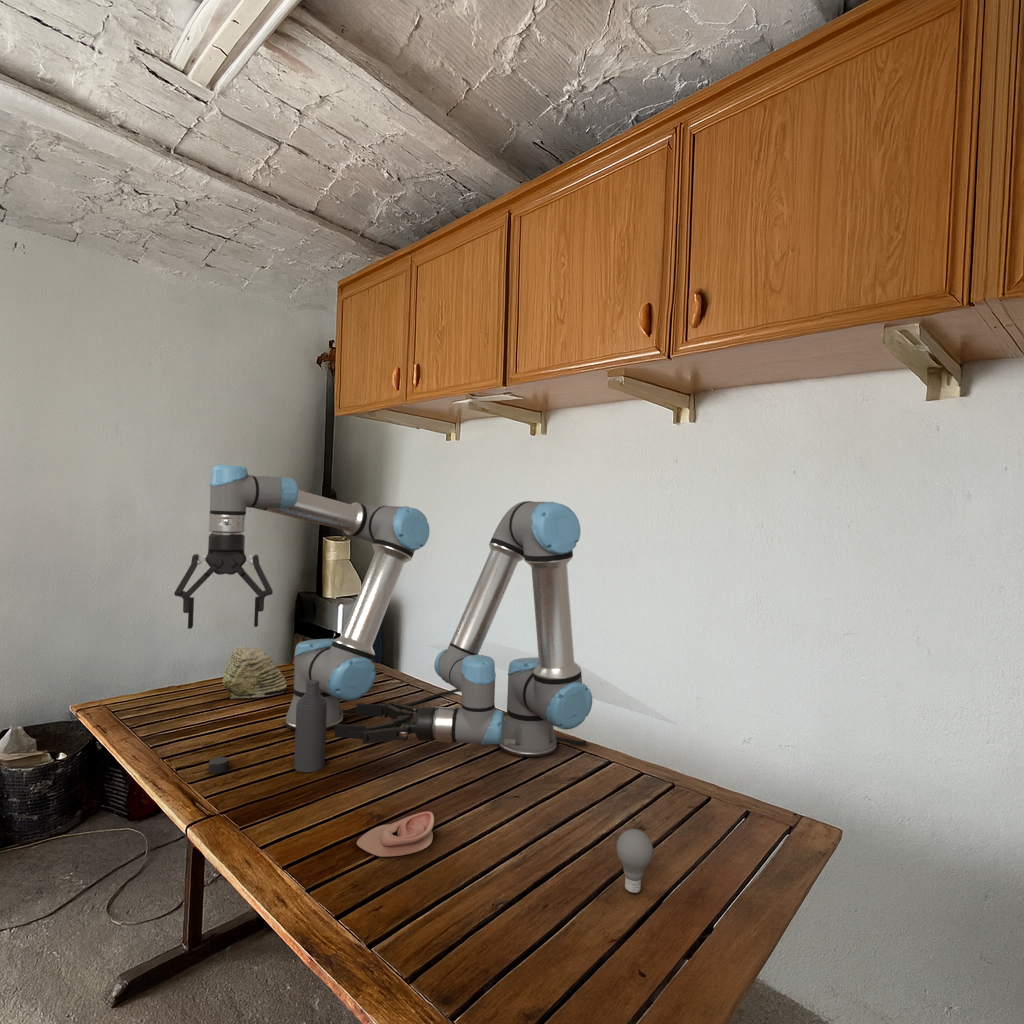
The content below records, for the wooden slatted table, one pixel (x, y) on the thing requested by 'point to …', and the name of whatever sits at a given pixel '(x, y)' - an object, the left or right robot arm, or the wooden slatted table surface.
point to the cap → (218, 765)
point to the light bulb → (634, 857)
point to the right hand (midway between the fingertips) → (346, 719)
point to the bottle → (310, 730)
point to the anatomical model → (399, 836)
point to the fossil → (252, 674)
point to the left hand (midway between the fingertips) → (223, 626)
